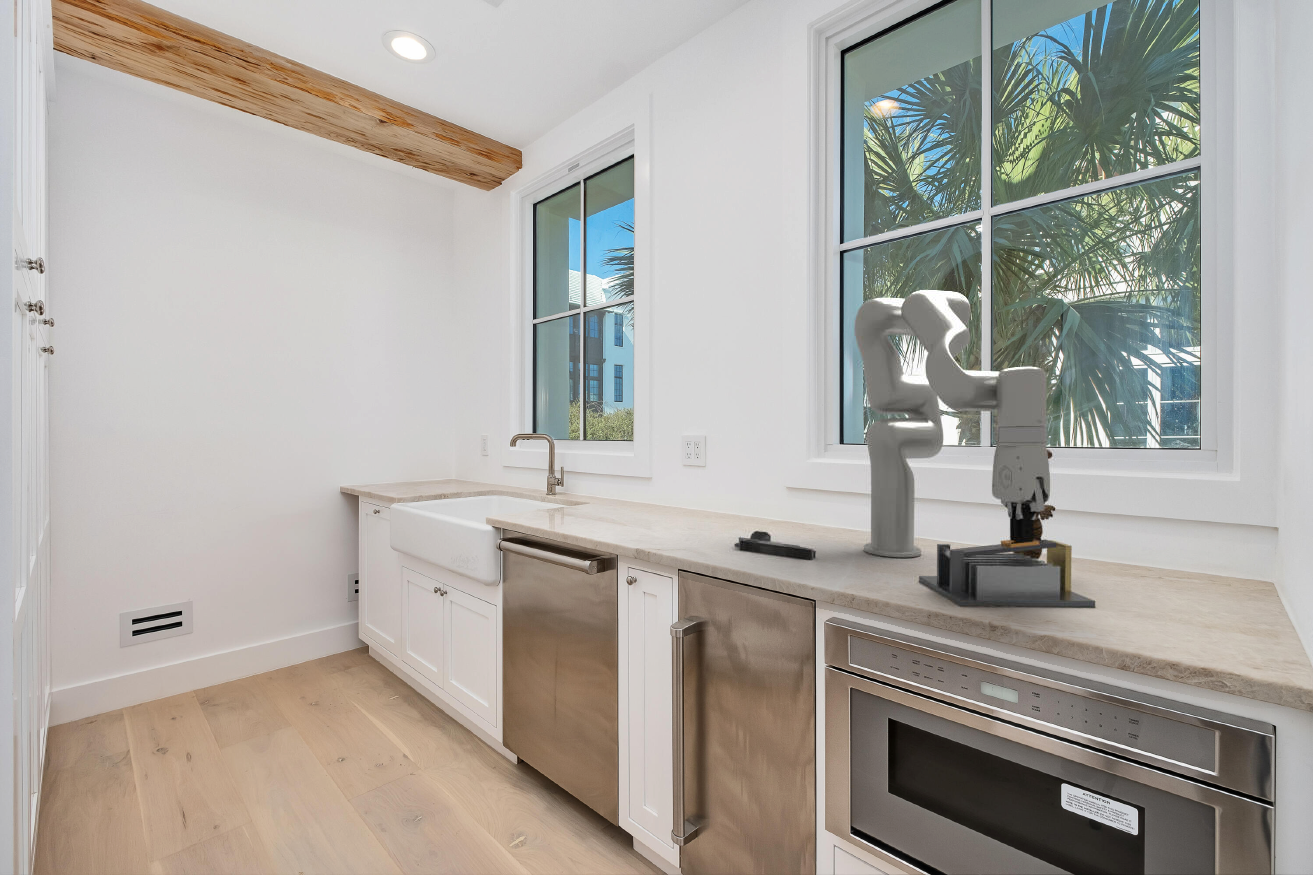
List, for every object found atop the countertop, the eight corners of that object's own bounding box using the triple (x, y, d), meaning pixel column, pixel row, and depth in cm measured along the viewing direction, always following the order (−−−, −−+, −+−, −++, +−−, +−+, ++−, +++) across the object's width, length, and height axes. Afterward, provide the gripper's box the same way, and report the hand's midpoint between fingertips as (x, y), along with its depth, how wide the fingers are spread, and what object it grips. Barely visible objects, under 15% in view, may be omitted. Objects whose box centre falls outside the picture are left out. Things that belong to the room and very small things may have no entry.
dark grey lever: (951, 560, 103) (950, 550, 103) (941, 556, 107) (940, 546, 107) (1058, 549, 103) (1057, 539, 103) (1044, 545, 107) (1043, 535, 107)
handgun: (753, 530, 153) (729, 538, 143) (830, 539, 141) (810, 549, 131) (753, 542, 153) (729, 551, 144) (830, 553, 141) (810, 563, 131)
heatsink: (961, 606, 97) (961, 552, 97) (918, 581, 113) (919, 534, 113) (1095, 606, 97) (1096, 552, 97) (1033, 581, 113) (1034, 534, 113)
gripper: (977, 437, 112) (977, 534, 112) (1026, 437, 97) (1026, 549, 97) (1017, 437, 112) (1017, 534, 112) (1071, 437, 97) (1072, 549, 97)
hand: (1021, 540), depth 105 cm, fingers closed
